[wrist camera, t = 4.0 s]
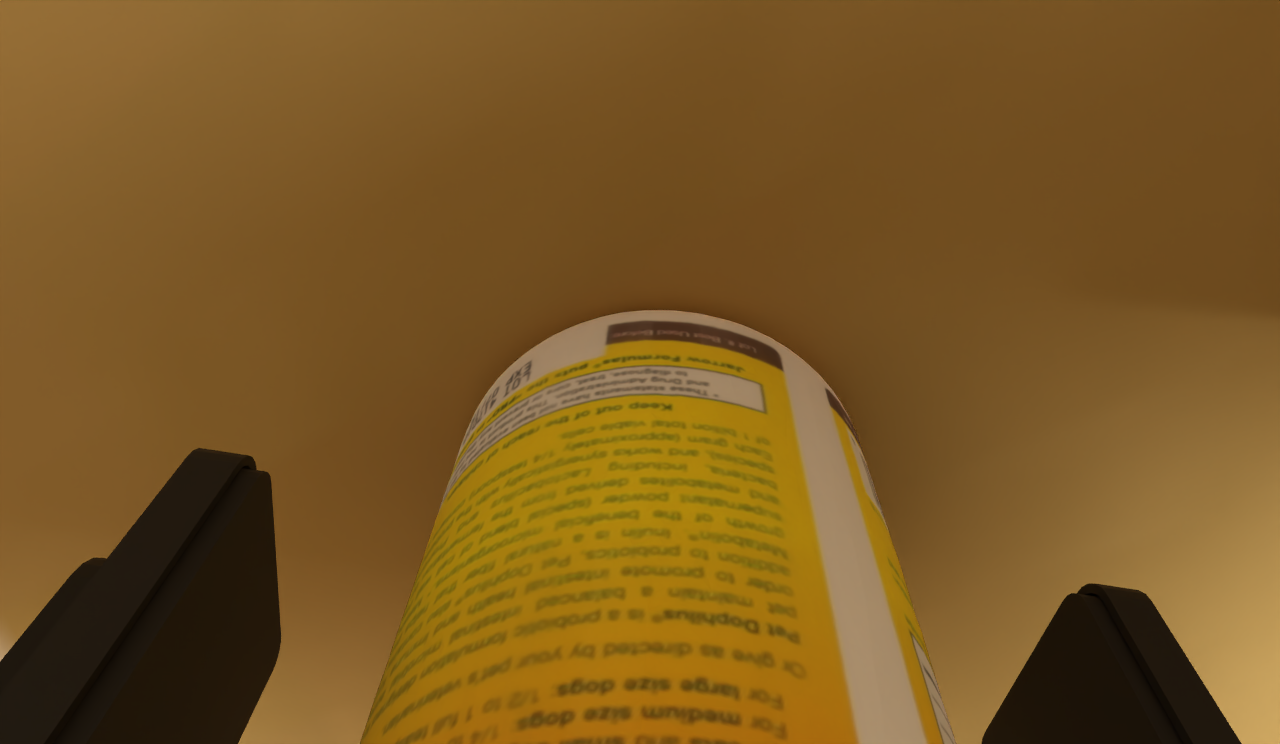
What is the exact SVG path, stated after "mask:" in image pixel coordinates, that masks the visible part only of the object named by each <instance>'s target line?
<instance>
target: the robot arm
mask: <svg viewBox="0 0 1280 744" xmlns="http://www.w3.org/2000/svg"><path fill="white" fill-rule="evenodd" d="M280 643H281V627H280V612H279V596H278V581H277V565H276V550H275V534H274V519H273V503H272V488H271V478H270V475H269V473H268V472H265V471H258V470H257V469H256V464H255V461H254V459H253V457H251V456H248V455H241V454H234V453H228V452H221V451H215V450H208V449H201V448H198V449H196V450H193V451H192V452H191V453H190V454H189V455H188V456H187V458H186V459H185V460H184V461H183V463H182V464H181V465H180V466H179V468H178V469H177V470H176V472H175V473H174V474H173V475H172V477H171V478H170V479H169V480H168V482H167V483H166V484H165V486H164V487H163V488H162V489H161V491H160V492H159V493H158V494H157V496H156V497H155V498H154V500H153V501H152V502H151V503H150V505H149V506H148V507H147V508H146V510H145V511H144V512H143V514H142V515H141V516H140V517H139V519H138V520H137V521H136V523H135V524H134V525H133V526H132V528H131V529H130V530H129V531H128V533H127V534H126V535H125V537H124V538H123V539H122V540H121V542H120V543H119V544H118V545H117V547H116V548H115V549H114V551H113V552H112V553H111V554H110V556H109V557H108V558H107V559H105V558H92V559H90V560H89V561H87V562H85V563H83V564H82V565H81V566H80V567H79V568H78V569H77V570H76V571H75V572H74V573H73V574H72V575H71V576H70V577H69V578H68V579H67V581H66V582H65V583H64V584H63V585H62V587H61V588H60V589H59V590H58V592H57V593H56V594H55V595H54V596H53V598H52V599H51V600H50V601H49V603H48V604H47V605H46V606H45V607H44V609H43V610H42V611H41V612H40V614H39V615H38V616H37V617H36V618H35V620H34V621H33V622H32V623H31V625H30V626H29V627H28V628H27V630H26V631H25V632H24V633H23V634H22V636H21V637H20V638H19V639H18V641H17V642H16V643H15V644H14V645H13V647H12V648H11V649H10V650H9V652H8V653H7V654H6V655H5V656H4V658H3V659H2V660H1V661H0V744H238V742H239V740H240V738H241V736H242V734H243V732H244V730H245V727H246V725H247V723H248V721H249V719H250V717H251V715H252V713H253V711H254V709H255V707H256V705H257V702H258V700H259V698H260V696H261V694H262V692H263V690H264V688H265V686H266V684H267V682H268V680H269V677H270V675H271V673H272V671H273V669H274V666H275V664H276V661H277V658H278V654H279V649H280ZM982 744H1241V742H1240V741H1239V739H1238V737H1237V736H1236V734H1235V733H1234V731H1233V730H1232V728H1231V726H1230V725H1229V723H1228V722H1227V720H1226V718H1225V717H1224V715H1223V714H1222V712H1221V711H1220V709H1219V707H1218V706H1217V704H1216V703H1215V701H1214V699H1213V698H1212V696H1211V695H1210V693H1209V691H1208V690H1207V688H1206V687H1205V685H1204V684H1203V682H1202V680H1201V679H1200V677H1199V676H1198V674H1197V672H1196V671H1195V669H1194V668H1193V666H1192V664H1191V663H1190V661H1189V660H1188V658H1187V657H1186V655H1185V653H1184V652H1183V650H1182V649H1181V647H1180V645H1179V644H1178V642H1177V641H1176V639H1175V637H1174V636H1173V634H1172V633H1171V631H1170V630H1169V628H1168V626H1167V625H1166V623H1165V622H1164V620H1163V618H1162V617H1161V615H1160V614H1159V612H1158V610H1157V609H1156V607H1155V606H1154V604H1153V603H1152V601H1151V600H1150V599H1149V598H1148V596H1147V595H1146V594H1144V593H1143V592H1141V591H1139V590H1133V589H1127V588H1120V587H1113V586H1107V585H1100V584H1087V585H1085V586H1083V587H1082V588H1081V589H1080V590H1079V591H1078V593H1077V594H1074V593H1071V594H1070V595H1068V596H1067V597H1066V598H1065V599H1064V600H1063V602H1062V603H1061V605H1060V607H1059V608H1058V610H1057V612H1056V614H1055V615H1054V617H1053V619H1052V620H1051V622H1050V624H1049V625H1048V627H1047V629H1046V630H1045V632H1044V634H1043V635H1042V637H1041V639H1040V641H1039V642H1038V644H1037V646H1036V647H1035V649H1034V651H1033V652H1032V654H1031V656H1030V657H1029V659H1028V661H1027V662H1026V664H1025V666H1024V668H1023V669H1022V671H1021V673H1020V674H1019V676H1018V678H1017V679H1016V681H1015V683H1014V684H1013V686H1012V688H1011V690H1010V691H1009V693H1008V695H1007V696H1006V698H1005V700H1004V701H1003V703H1002V705H1001V706H1000V708H999V710H998V711H997V713H996V715H995V717H994V718H993V720H992V722H991V723H990V725H989V727H988V728H987V730H986V732H985V734H984V736H983V739H982Z"/></svg>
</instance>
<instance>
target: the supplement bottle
mask: <svg viewBox="0 0 1280 744" xmlns="http://www.w3.org/2000/svg"><path fill="white" fill-rule="evenodd" d="M360 744H956V742H955V739H954V735H953V732H952V729H951V726H950V723H949V720H948V717H947V714H946V711H945V708H944V705H943V702H942V699H941V695H940V691H939V688H938V684H937V681H936V678H935V674H934V671H933V668H932V665H931V662H930V659H929V655H928V652H927V648H926V645H925V642H924V638H923V635H922V632H921V629H920V626H919V624H918V621H917V619H916V616H915V612H914V609H913V605H912V602H911V599H910V596H909V592H908V589H907V586H906V583H905V579H904V576H903V573H902V570H901V566H900V563H899V560H898V557H897V554H896V551H895V549H894V546H893V543H892V540H891V537H890V534H889V531H888V527H887V524H886V522H885V519H884V515H883V512H882V509H881V505H880V502H879V499H878V496H877V494H876V491H875V488H874V484H873V481H872V478H871V475H870V472H869V469H868V467H867V463H866V459H865V456H864V454H863V451H862V448H861V445H860V442H859V440H858V437H857V434H856V432H855V430H854V427H853V425H852V422H851V420H850V418H849V416H848V414H847V412H846V411H845V409H844V407H843V405H842V404H841V402H840V400H839V399H838V398H837V396H836V395H835V393H834V392H833V390H832V389H831V388H830V386H829V385H828V384H827V383H826V382H825V381H824V379H823V378H822V377H821V376H820V375H819V374H818V373H817V372H816V371H815V370H814V369H813V368H812V367H811V366H810V365H809V364H807V363H806V362H805V361H804V360H803V359H802V358H800V357H799V356H798V355H796V354H795V353H794V352H792V351H791V350H790V349H789V348H787V347H785V346H784V345H782V344H780V343H779V342H777V341H775V340H774V339H772V338H771V337H768V336H766V335H764V334H762V333H760V332H758V331H756V330H753V329H751V328H749V327H747V326H744V325H741V324H738V323H735V322H732V321H730V320H726V319H722V318H717V317H713V316H709V315H704V314H700V313H692V312H684V311H675V310H643V311H631V312H622V313H617V314H612V315H607V316H603V317H599V318H596V319H592V320H589V321H586V322H583V323H580V324H577V325H575V326H572V327H570V328H567V329H565V330H563V331H561V332H559V333H557V334H555V335H553V336H551V337H549V338H548V339H546V340H545V341H543V342H541V343H540V344H538V345H536V346H535V347H533V348H532V349H530V350H529V351H528V352H526V353H525V354H524V355H522V356H521V357H520V358H519V359H518V360H516V361H515V362H514V363H513V364H512V365H511V366H509V367H508V368H507V369H506V370H505V371H504V373H503V374H502V375H501V376H500V377H499V378H498V379H497V380H496V381H495V383H494V384H493V385H492V387H491V388H490V389H489V390H488V392H487V393H486V395H485V396H484V398H483V399H482V401H481V402H480V404H479V406H478V408H477V409H476V411H475V413H474V415H473V417H472V420H471V422H470V424H469V426H468V428H467V431H466V434H465V436H464V439H463V441H462V444H461V447H460V450H459V453H458V456H457V459H456V462H455V464H454V468H453V471H452V474H451V476H450V479H449V482H448V485H447V488H446V491H445V494H444V497H443V500H442V503H441V506H440V509H439V512H438V515H437V518H436V521H435V524H434V526H433V529H432V532H431V535H430V538H429V541H428V544H427V547H426V550H425V553H424V556H423V559H422V562H421V565H420V568H419V570H418V573H417V576H416V579H415V582H414V585H413V588H412V591H411V594H410V597H409V600H408V603H407V606H406V609H405V612H404V615H403V617H402V620H401V623H400V626H399V629H398V632H397V635H396V638H395V641H394V644H393V647H392V650H391V653H390V656H389V660H388V663H387V665H386V668H385V671H384V674H383V677H382V679H381V682H380V685H379V688H378V691H377V694H376V696H375V699H374V702H373V705H372V709H371V712H370V715H369V718H368V721H367V724H366V727H365V730H364V733H363V736H362V739H361V742H360Z"/></svg>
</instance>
